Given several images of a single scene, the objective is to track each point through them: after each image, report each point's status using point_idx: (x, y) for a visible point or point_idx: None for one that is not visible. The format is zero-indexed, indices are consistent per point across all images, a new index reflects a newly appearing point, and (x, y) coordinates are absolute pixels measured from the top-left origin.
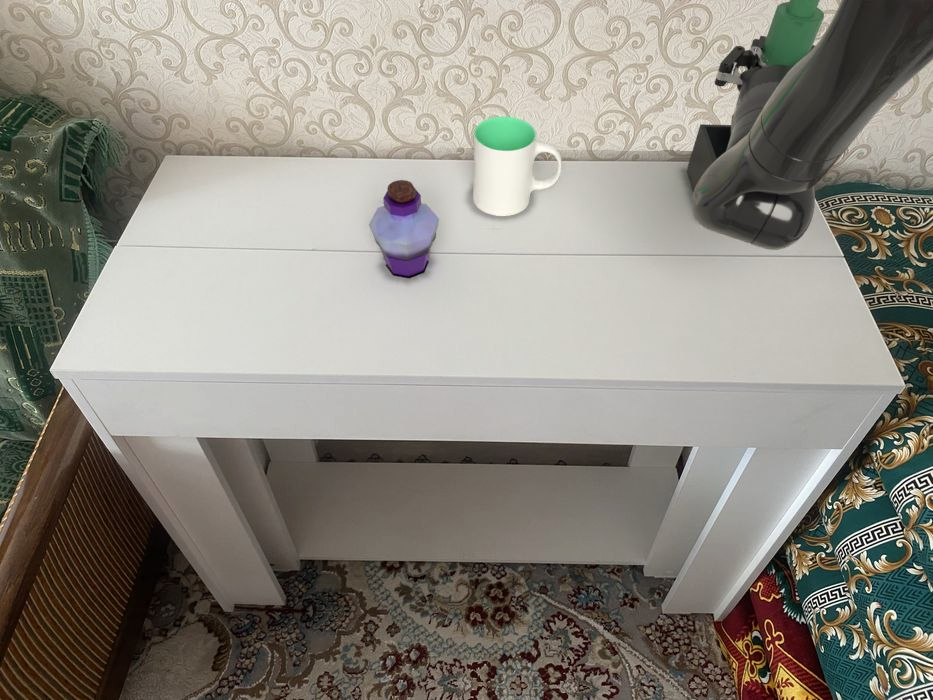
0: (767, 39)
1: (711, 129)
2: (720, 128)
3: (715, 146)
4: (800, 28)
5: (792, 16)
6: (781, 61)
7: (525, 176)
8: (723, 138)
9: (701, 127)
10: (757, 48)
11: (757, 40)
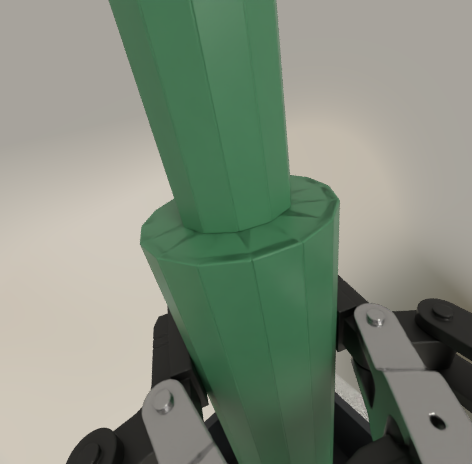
0: (185, 340)
1: None
2: (213, 426)
3: (223, 441)
4: (300, 276)
5: (223, 241)
6: (286, 396)
7: None
8: None
9: None
10: (168, 402)
11: (166, 320)
